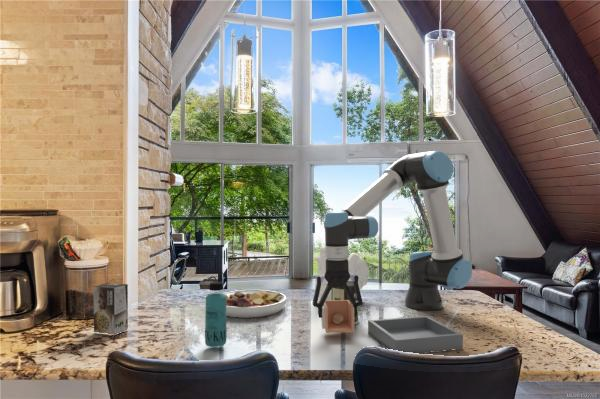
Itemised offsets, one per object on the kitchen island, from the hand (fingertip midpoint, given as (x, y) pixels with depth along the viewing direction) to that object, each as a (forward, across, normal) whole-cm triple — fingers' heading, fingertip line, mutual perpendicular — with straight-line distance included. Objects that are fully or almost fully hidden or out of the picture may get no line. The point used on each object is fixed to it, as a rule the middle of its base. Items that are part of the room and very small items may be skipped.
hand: (337, 326), depth 134 cm
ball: (-2, 0, +1) cm, 3 cm away
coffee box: (+2, -76, +8) cm, 76 cm away
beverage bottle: (+3, -38, -9) cm, 40 cm away
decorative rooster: (+4, +9, +44) cm, 45 cm away
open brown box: (0, 0, 0) cm, 0 cm away
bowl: (+3, -31, +35) cm, 47 cm away
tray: (+3, +23, -6) cm, 24 cm away
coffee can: (+3, +5, +16) cm, 17 cm away
